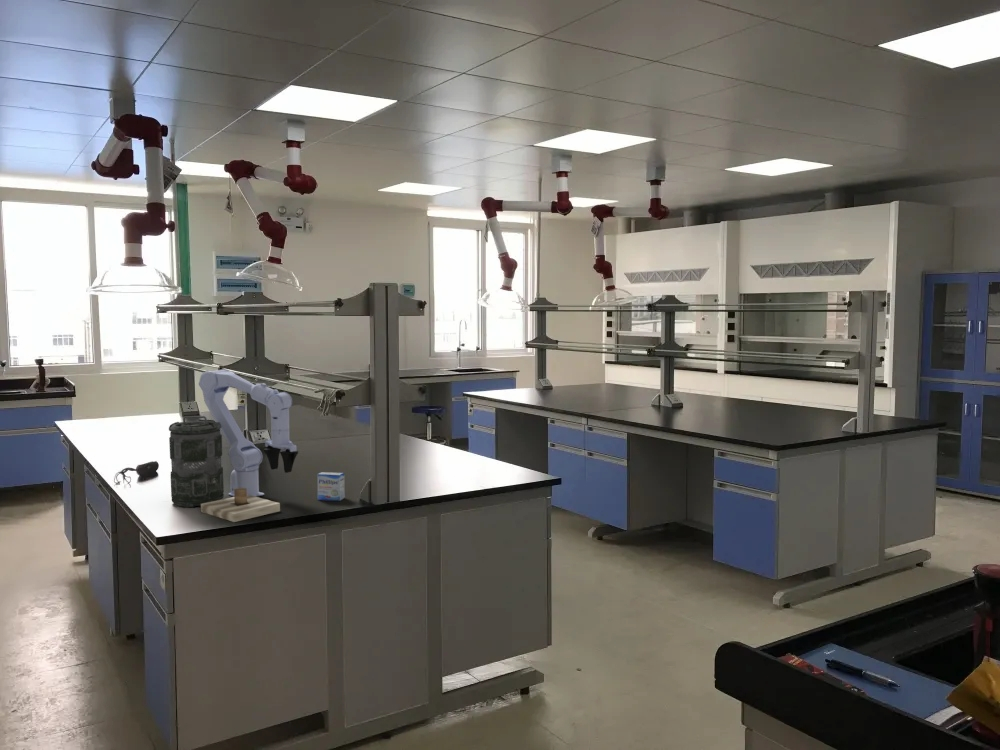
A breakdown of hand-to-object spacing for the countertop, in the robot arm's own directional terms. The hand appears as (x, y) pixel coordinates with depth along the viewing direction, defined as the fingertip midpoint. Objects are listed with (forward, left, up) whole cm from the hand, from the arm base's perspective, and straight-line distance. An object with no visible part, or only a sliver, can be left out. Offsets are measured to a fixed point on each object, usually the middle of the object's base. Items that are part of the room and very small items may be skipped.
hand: (281, 470), depth 256 cm
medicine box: (+13, +10, -10) cm, 19 cm away
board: (+4, -18, -9) cm, 20 cm away
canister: (-17, -20, -10) cm, 28 cm away
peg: (+4, -18, -9) cm, 20 cm away
